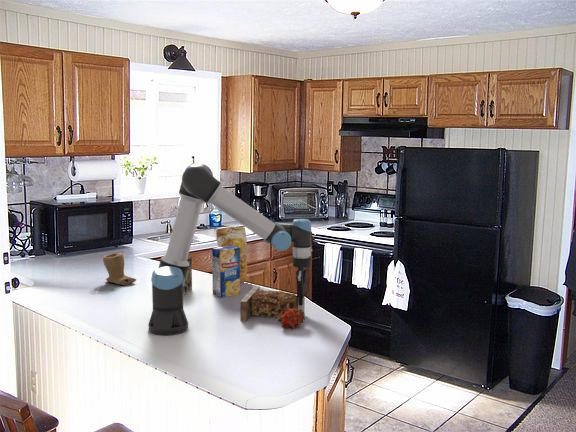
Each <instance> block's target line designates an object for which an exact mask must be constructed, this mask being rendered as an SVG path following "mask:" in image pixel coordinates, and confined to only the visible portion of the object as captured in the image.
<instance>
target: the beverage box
mask: <svg viewBox="0 0 576 432" xmlns="http://www.w3.org/2000/svg"><path fill="white" fill-rule="evenodd" d="M211 250H212V252H211V253H212V254H211V255H212V256H211V258H212V259H211V260H212V261H211V262H212V266H211V267H212V271H211V272H212V273H211V274H212V278H211V279H212V295H213V296H217V297H218V298H224V297H225V298H226V297H230V296H235V295H239V294H241V282H240V248H239V247H236V246H232V245H231V246H224V247H218V246H217V247H212V249H211Z"/></svg>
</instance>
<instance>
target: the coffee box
mask: <svg viewBox="0 0 576 432" xmlns="http://www.w3.org/2000/svg"><path fill="white" fill-rule="evenodd" d="M192 260H193V258H192V257H190V256H188V257H187V261H188V263H189V268H188V272H187V275H186V280H185V283H184V287H183V296H185V295H187V294H188V293H190V292H191V291H192V290H193V271H192V270H193V266H192V265H193V263H192V262H193V261H192Z"/></svg>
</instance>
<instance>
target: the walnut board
mask: <svg viewBox="0 0 576 432" xmlns="http://www.w3.org/2000/svg"><path fill="white" fill-rule="evenodd" d="M258 290H260V291H261V287H260V286H253V287H252V288H251V289H250V290H249V291H248V293H246V295H245V296H244V297H243V298H242V299H241V300H239V301H240V302H239V303H240V304H239V305H240V308H239V310H240V314H239V315H240V316H239V317H240V318H239V320H240V321H243V322H246V321H248V320H249V319H250V317H251V316H252V311H251V300H252V295H253V294H254V293H255V292H257V291H258Z"/></svg>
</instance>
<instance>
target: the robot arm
mask: <svg viewBox="0 0 576 432" xmlns="http://www.w3.org/2000/svg"><path fill="white" fill-rule="evenodd" d="M178 194H179V196H180V198H181V199H180V201H179V206H178V208H177V212H176V216H175V220H174V223H173V227H172V231H171V236H170V238H169V242H168V246H167V249H166V252H165V254H164V255H163V256H161V257H160V262H159V264H158V268H156V269H153V271H152V273H151V280H150V281H151V290H152V291H151V292H152V293H151V294H152V295H151V296H152V297H151V298H152V299H151V300H152V311H151V314H150V319H149V321H148V326H147V327H148V331H149V333H151V334H153V335H158V336H171V335H178V334H182V333H184V332H186V331H188V330H189V321H188V319H187V316H186V313H185V310H184V295H183V287H184V283H185V280H186V275H187V272H188V268H189V263H188V261H187V257H189V254H190V249H191V247H192V242H193V239H194V236H195V235H194V234H195V232H196V229H197V224H198V220H199V216H200V214H201V210H202V206H203V204H204V203H205V204H211V205H213V206H214V207H216V208H217V209H219V210H220V211H222V212H223V213H225V214H226V215H228V216H229V217H231V218H232V219H234V220H235V221H237V222H238V223H240V224H241V226H243V227H245V228H247V229H248V230H249V231H250V232H252V233H254V234H255V235H256V236H259V238H262V239H263V241H264V242H265V243H266V244H270V245H271V246H272V247H273V248H274V249H275V250H277V251H279V252H284V251H286V250H288V249H289V248H290V247H291V244H292V256H293V257H292V266H293V267H295V268H297V270H296V273H295V274H296V277H295V278H296V295H297V296H296V297H298V309H302V311H303V312H304V313H306V311H305V309H306V307H305V305H306V301H305V300H306V297H307V296H308V295H307V290H306V289H307V275H308V270H307V268H309V267H311V265H312V258H311V256H312V252H313V248H312V222H311V220H310V219H307V218H295V219H293V220H292V223H291V224H276V223H275V222H273V221H272V220H270V219H269V218H268V217H266V216H264V214H262V213H260V211H257V210H256V209H255V208H253V207H252V206H251V205H249V204H248V203H246V202H245V201H244V200H242V199H241V198H239V197H237V195H235V194H233V193H232V192H230V191H229V190H228V189H226V188H225V187H223V183H222V182H221V181H219V180H218V179H217V178H215V177H214V174H213V171H212V170H211V168H210V167H209V166H208V165H206V164H203V163H199V162H194V163H192V164H189V165H188V166H187V167H186V168H185V170H184V172H183V174H182V175H181V183H180V186H179V191H178Z"/></svg>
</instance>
